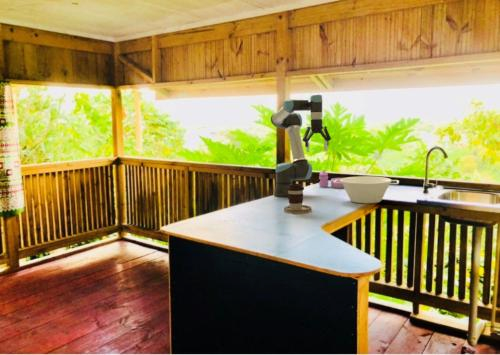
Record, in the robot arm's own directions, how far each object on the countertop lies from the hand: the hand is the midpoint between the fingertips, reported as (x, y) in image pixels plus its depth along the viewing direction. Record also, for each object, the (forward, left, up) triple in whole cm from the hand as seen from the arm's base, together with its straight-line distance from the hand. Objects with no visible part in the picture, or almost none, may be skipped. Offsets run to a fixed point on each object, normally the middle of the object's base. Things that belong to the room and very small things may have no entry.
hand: (317, 151), depth 263 cm
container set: (-43, +41, -33) cm, 68 cm away
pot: (+18, +25, -33) cm, 45 cm away
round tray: (+21, -26, -33) cm, 47 cm away
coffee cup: (+21, -27, -32) cm, 47 cm away
